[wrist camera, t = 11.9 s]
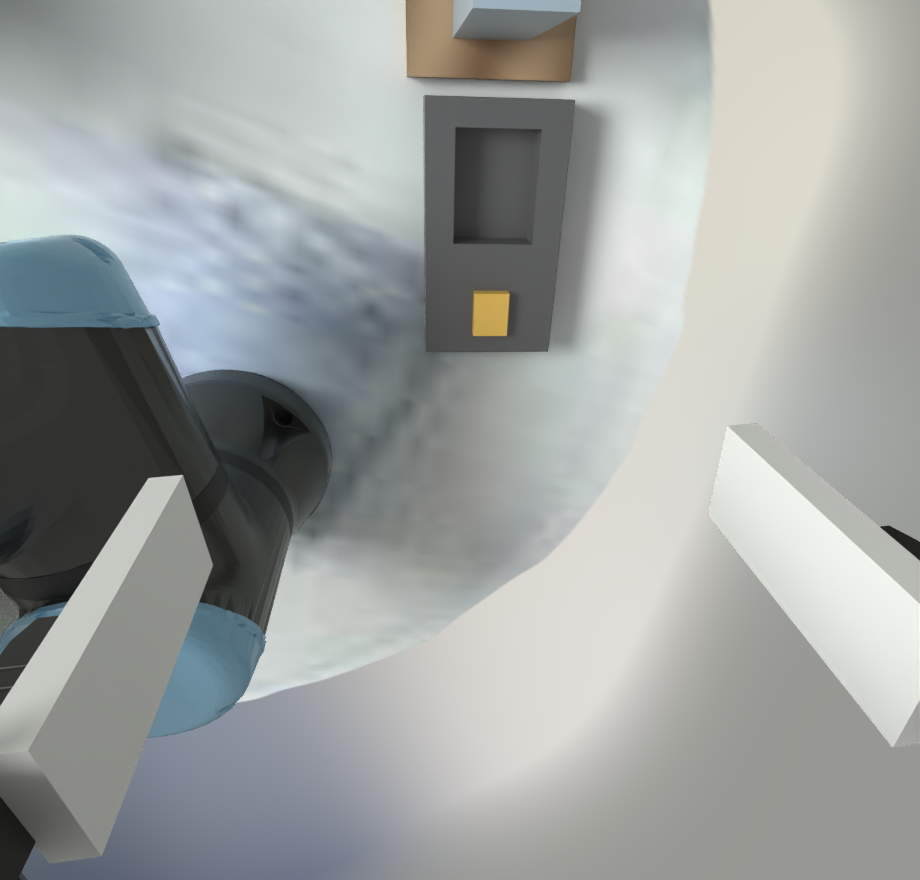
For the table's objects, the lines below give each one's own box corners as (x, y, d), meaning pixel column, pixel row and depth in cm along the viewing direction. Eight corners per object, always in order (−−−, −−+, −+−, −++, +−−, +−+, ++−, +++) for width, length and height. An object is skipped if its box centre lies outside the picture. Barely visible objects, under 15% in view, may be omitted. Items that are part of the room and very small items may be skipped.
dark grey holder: (424, 337, 44) (426, 356, 41) (423, 96, 36) (424, 95, 33) (540, 337, 45) (550, 355, 42) (563, 100, 37) (578, 99, 34)
